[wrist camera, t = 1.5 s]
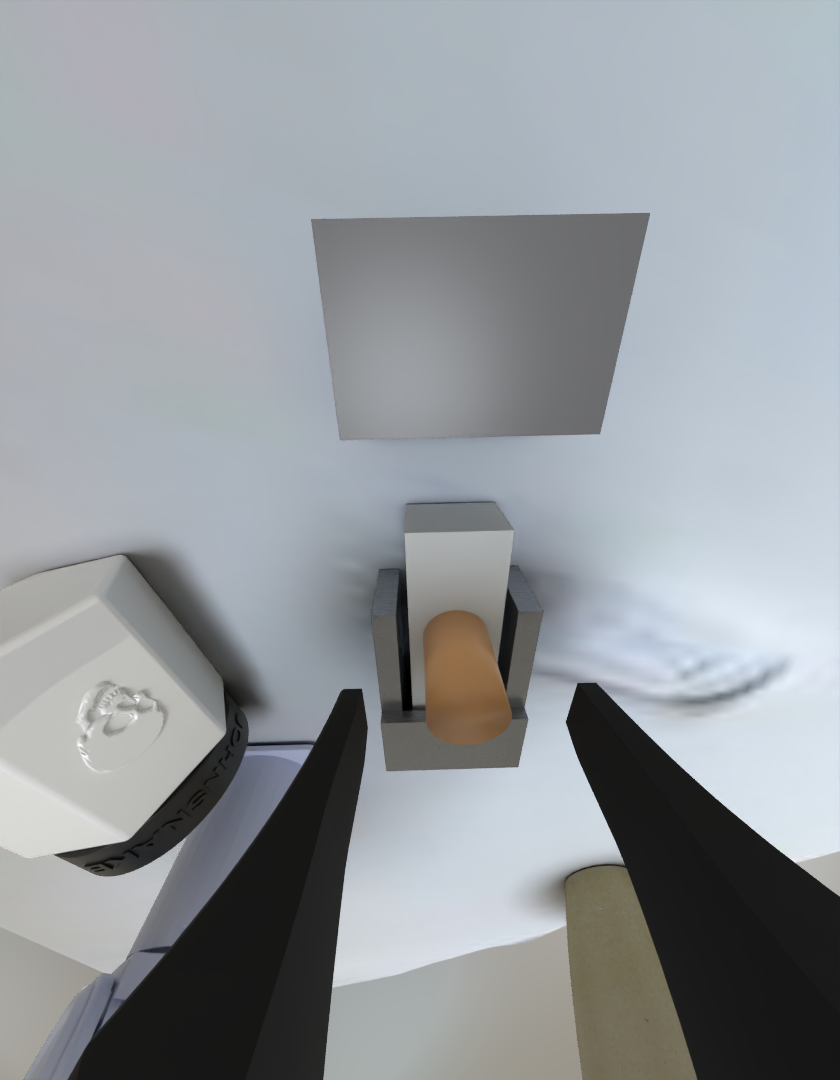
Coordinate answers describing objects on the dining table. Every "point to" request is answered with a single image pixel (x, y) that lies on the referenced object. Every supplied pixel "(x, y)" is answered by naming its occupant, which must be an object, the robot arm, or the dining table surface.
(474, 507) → the slab with tan knob
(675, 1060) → the plant pot
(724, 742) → the dining table surface
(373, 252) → the dark gray rectangular block
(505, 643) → the sleeve
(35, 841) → the jar
